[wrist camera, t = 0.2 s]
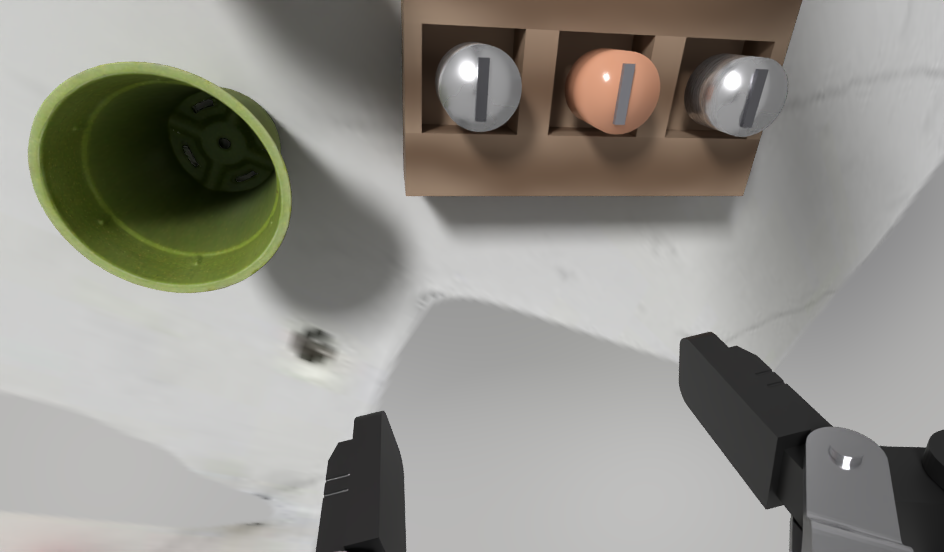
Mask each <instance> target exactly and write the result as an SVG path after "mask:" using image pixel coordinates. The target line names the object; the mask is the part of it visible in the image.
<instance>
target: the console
mask: <svg viewBox="0 0 944 552" xmlns="http://www.w3.org/2000/svg"><path fill="white" fill-rule="evenodd" d="M801 3H802V0H401V28H402V93H403V159H404V180H405V191H406V196H743V194H744V191H745V187H746V184H747V181H748V177H749V174H750V171H751V168H752V164H753V161H754V158H755V154H756V151H757V148H758V145H759V141H760V138H761V135H762V131H763V130H762V131H760V132H759V133H756V134H754V135H751V136H747V137H737V136H733V135H730V134H727V133H724V132H721V131H718V130H715V129H712V128H710V127H707V126H704V125H701V124H698V123H696V122H695V121H693V120H692V119H691V118H690V116H689V115H688V113H687V111H686V108H685V104H684V93H685V88H686V85H687V82H688V80H689V78H690V76H691V74H692V73H693V71H694V70H695V69H696V68H697V67H698V66H699V65H700V64H701V63H702V62H703V61H704V60H706V59H708V58H709V57H711V56H714V55H717V54H725V53H726V54H736V55H745V56H755V57H764V58H770V59H773V60H775V61H777V62H778V63H779V64H780V65H781V66H782V65H783V62H784V59H785V56H786V52H787V49H788V46H789V42H790V39H791V36H792V33H793V29H794V26H795V23H796V19H797V16H798V13H799V10H800V6H801ZM465 42H479V43H483V44H487V45H490V46H494V47H497V48H499V49H501V50H502V51H504V52H505V53H506V54H508V55H509V56H510V57H511V58H512V60H513V61H514V62H515V64H516V66H517V68H518V70H519V73H520V77H521V83H522V92H521V98H520V102H519V104H518V107H517V109H516V110H515V112H514V114H513V115H512V116H511V118H510V119H509V120H508V121H507V122H505V123H504V124H503V125H501V126H500V127H498V128H496V129H493V130H490V131H485V132H475V131H470V130H467V129H464V128H463V127H461V126H459V125H458V124H456V123H455V122H454V121H453V120H452V119H451V118H450V116H449V115H448V114H447V112H446V110H445V109H444V107H443V105H442V104H441V102H440V100H439V98H438V96H437V92H436V87H435V76H436V71H437V68H438V65H439V63H440V61H441V59H442V58H443V56H444V55H445V54H446V53H447V52H448V51H449V50H450V49H452V48H453V47H454V46H456V45H458V44H461V43H465ZM597 48H610V49H618V50H625V51H632V52H637V53H640V54H642V55H644V56H646V57H647V58H649V59H650V60H651V61H652V63H653V64H654V65H655V67H656V69H657V71H658V74H659V78H660V95H659V99H658V102H657V105H656V107H655V109H654V111H653V112H652V114H651V116H650V117H649V118H648V119H647V120H646V121H645V122H644V123H643V124H642V125H641V126H640V127H638V128H636V129H635V130H633V131H631V132H628V133H625V134H616V135H615V134H609V133H605V132H603V131H601V130H599V129H597V128H595V127H593V126H592V125H590V124H588V123H586V122H584V121H582V120H580V119H579V118H577V117H576V116H575V115H574V114H573V113H572V112H571V110H570V109H569V107H568V105H567V102H566V98H565V83H566V78H567V75H568V73H569V71H570V69H571V67H572V66H573V64H574V63H575V62H576V61H577V60H578V58H580V57H581V56H582V55H583V54H585V53H586V52H588V51H591V50H593V49H597Z"/></svg>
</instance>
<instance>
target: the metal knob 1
mask: <svg viewBox="0 0 944 552" xmlns="http://www.w3.org/2000/svg"><path fill="white" fill-rule="evenodd" d="M435 87H436V92H437V96H438V98H439V100H440V102H441V104H442V105H443V107H444V109H445V110H446V112H447V114H448V115H449V116H450V118H451V119H452V120H453V121H454V122H455V123H456V124H458V125H459V126H461V127H463V128H464V129H467V130H470V131H475V132H485V131H490V130H493V129H496V128H498V127H500V126H501V125H503V124H504V123H505V122H507V121H508V120H509V119H510V118H511V116H512V115H513V114H514V112H515V110H516V109H517V107H518V104H519V102H520V98H521V92H522V83H521V77H520V73H519V70H518V68H517V66H516V64H515V62H514V61H513V60H512V58H511V57H510V56H509V55H508V54H506V53H505V52H504V51H502V50H501V49H499V48H497V47H494V46H490V45H487V44H483V43H479V42H465V43H461V44H458V45H456V46H454V47H453V48H452V49H450V50H449V51H448V52H447V53H446V54H445V55H444V56H443V58H442V59H441V61H440V63H439V65H438V68H437V71H436V76H435Z"/></svg>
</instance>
